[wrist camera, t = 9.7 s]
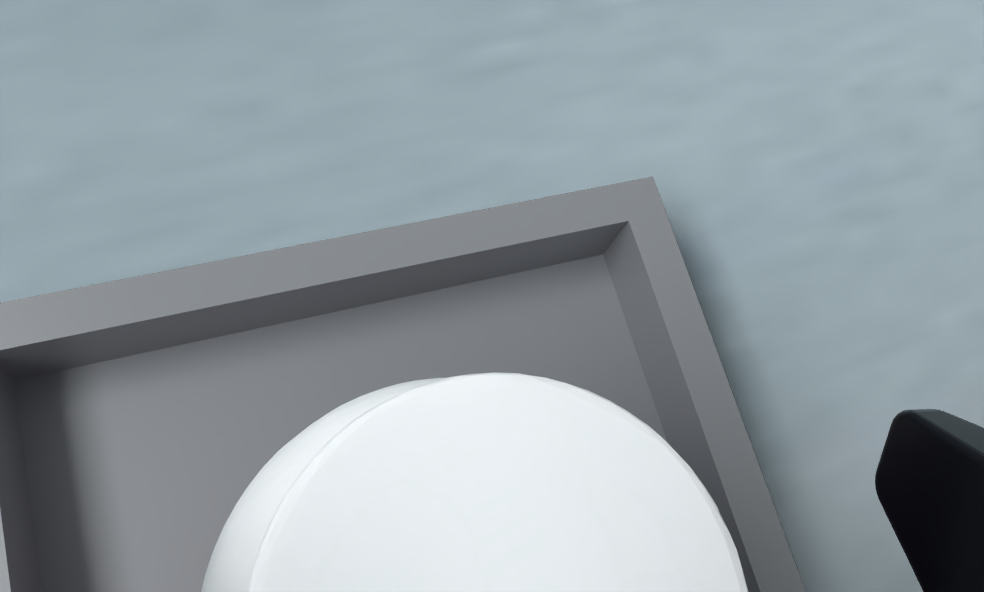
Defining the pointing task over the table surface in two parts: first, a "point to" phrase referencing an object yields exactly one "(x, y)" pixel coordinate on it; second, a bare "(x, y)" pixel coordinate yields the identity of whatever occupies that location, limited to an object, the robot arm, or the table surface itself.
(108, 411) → the tray
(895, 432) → the robot arm
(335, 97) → the table surface
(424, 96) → the table surface
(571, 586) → the pill bottle
